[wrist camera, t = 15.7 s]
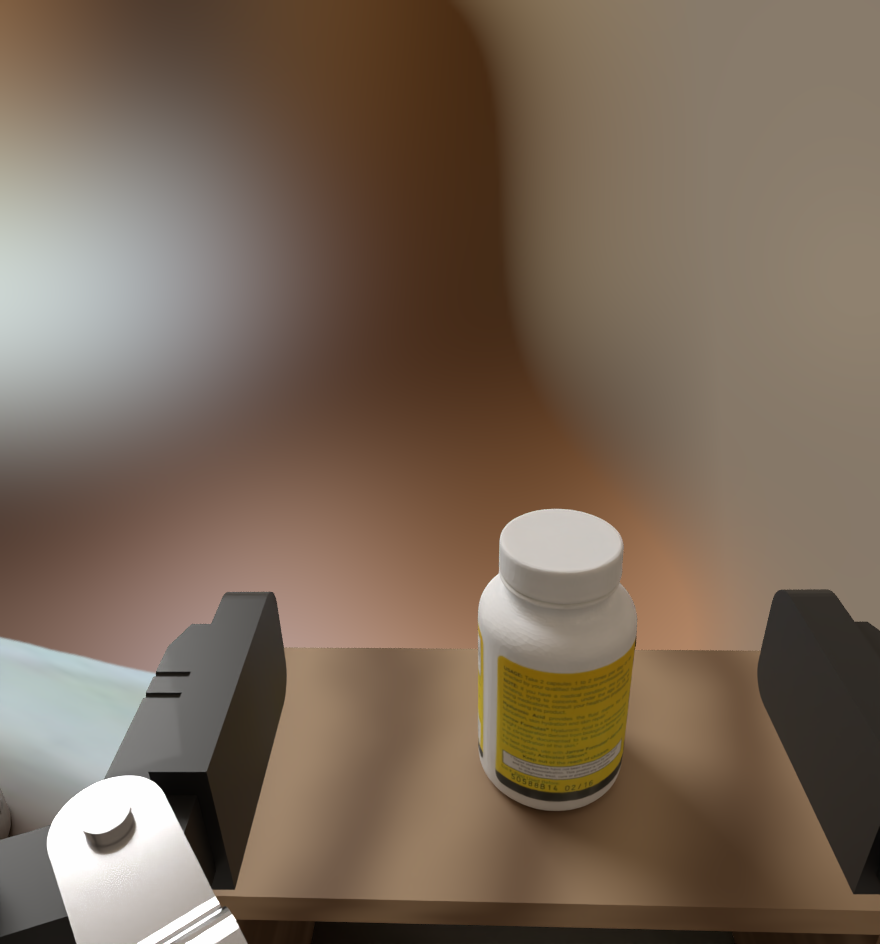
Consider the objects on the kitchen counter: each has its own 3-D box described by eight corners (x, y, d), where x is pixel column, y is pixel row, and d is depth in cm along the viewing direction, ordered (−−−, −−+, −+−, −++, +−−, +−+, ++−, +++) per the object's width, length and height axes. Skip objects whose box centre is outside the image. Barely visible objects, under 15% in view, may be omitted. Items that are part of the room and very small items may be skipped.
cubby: (251, 1128, 32) (186, 895, 25) (307, 863, 42) (273, 647, 35) (822, 1150, 31) (922, 911, 24) (732, 872, 41) (783, 650, 34)
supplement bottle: (652, 782, 28) (683, 558, 24) (524, 840, 26) (531, 608, 22) (569, 688, 33) (582, 484, 28) (454, 732, 31) (448, 520, 26)
